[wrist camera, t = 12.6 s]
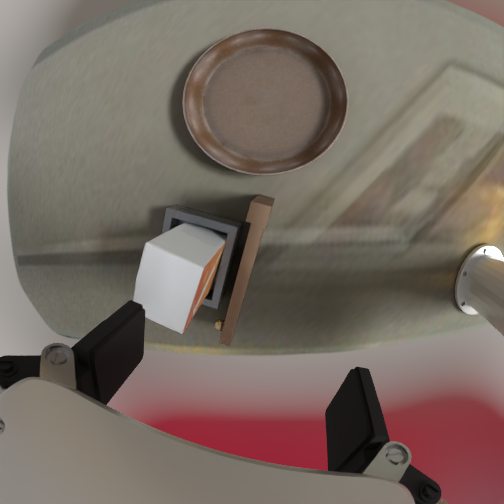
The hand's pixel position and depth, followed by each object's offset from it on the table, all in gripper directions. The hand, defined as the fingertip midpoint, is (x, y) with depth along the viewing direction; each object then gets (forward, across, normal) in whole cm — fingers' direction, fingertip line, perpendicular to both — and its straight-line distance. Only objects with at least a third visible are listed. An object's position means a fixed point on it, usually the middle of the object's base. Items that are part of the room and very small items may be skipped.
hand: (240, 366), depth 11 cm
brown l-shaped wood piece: (+26, +3, +5) cm, 27 cm away
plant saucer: (+27, +6, -17) cm, 33 cm away
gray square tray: (+26, +10, +5) cm, 28 cm away
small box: (+26, +10, +5) cm, 28 cm away
